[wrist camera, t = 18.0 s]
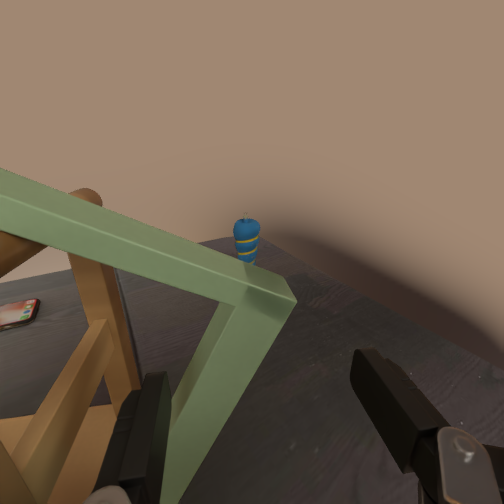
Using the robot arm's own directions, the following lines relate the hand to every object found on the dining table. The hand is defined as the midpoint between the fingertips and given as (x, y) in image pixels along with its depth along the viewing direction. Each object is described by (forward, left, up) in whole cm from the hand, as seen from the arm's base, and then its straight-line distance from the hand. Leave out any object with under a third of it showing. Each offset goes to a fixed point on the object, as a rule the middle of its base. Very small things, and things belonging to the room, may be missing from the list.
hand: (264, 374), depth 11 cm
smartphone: (+51, +2, -18) cm, 55 cm away
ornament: (+23, -33, -18) cm, 44 cm away
